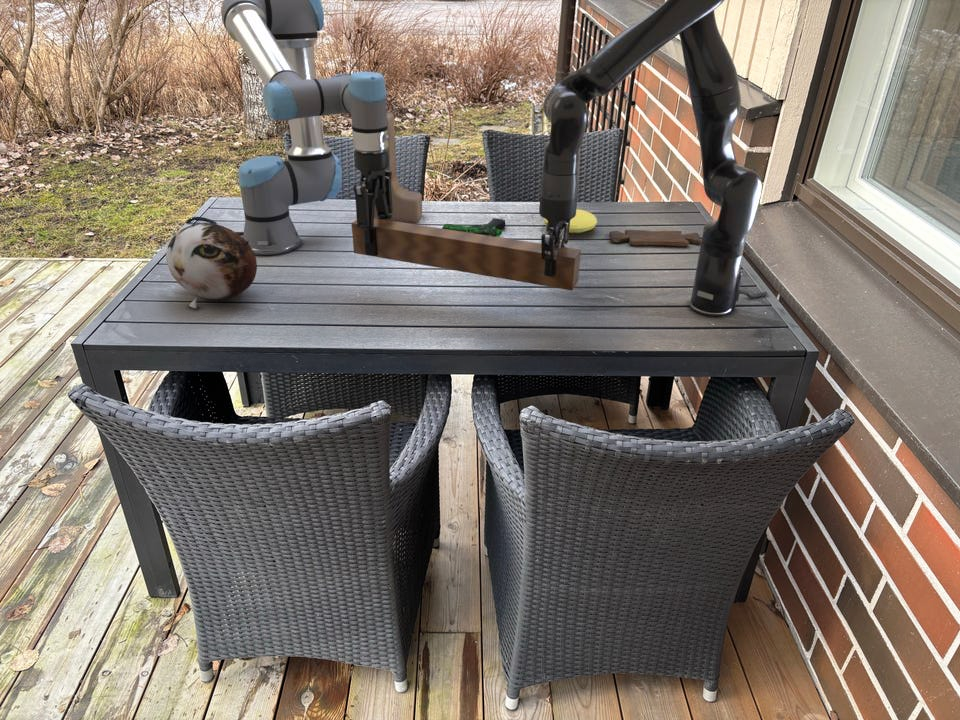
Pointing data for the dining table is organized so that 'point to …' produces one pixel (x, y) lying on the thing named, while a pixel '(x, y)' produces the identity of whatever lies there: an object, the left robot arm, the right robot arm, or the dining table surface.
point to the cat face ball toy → (211, 261)
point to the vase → (581, 222)
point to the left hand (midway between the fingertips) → (377, 250)
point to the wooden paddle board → (654, 237)
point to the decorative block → (403, 201)
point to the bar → (469, 253)
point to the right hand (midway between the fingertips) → (553, 270)
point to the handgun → (480, 228)
